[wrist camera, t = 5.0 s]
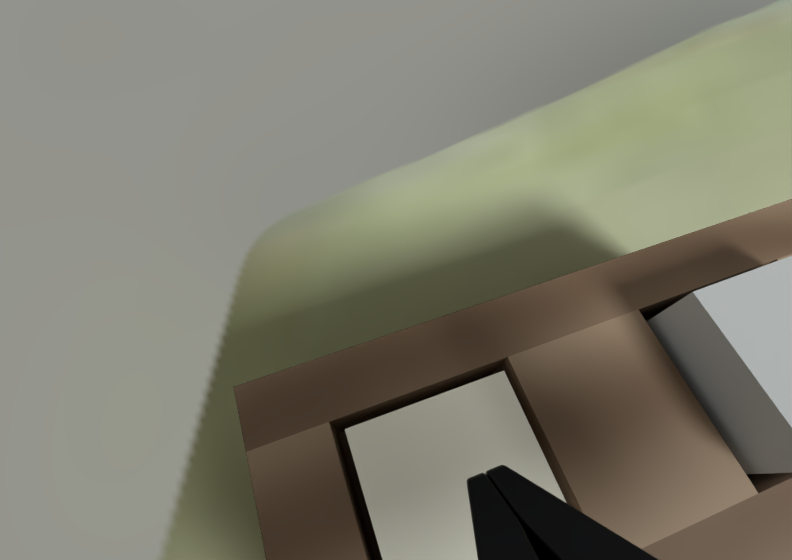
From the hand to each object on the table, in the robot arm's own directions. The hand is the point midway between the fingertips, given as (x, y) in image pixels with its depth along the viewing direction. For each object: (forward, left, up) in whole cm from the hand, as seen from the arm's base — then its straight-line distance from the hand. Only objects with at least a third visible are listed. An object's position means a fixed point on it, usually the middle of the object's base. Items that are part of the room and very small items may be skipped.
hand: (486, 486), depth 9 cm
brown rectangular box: (+4, -4, -12) cm, 13 cm away
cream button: (0, 0, -6) cm, 7 cm away
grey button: (+7, -8, -5) cm, 12 cm away
